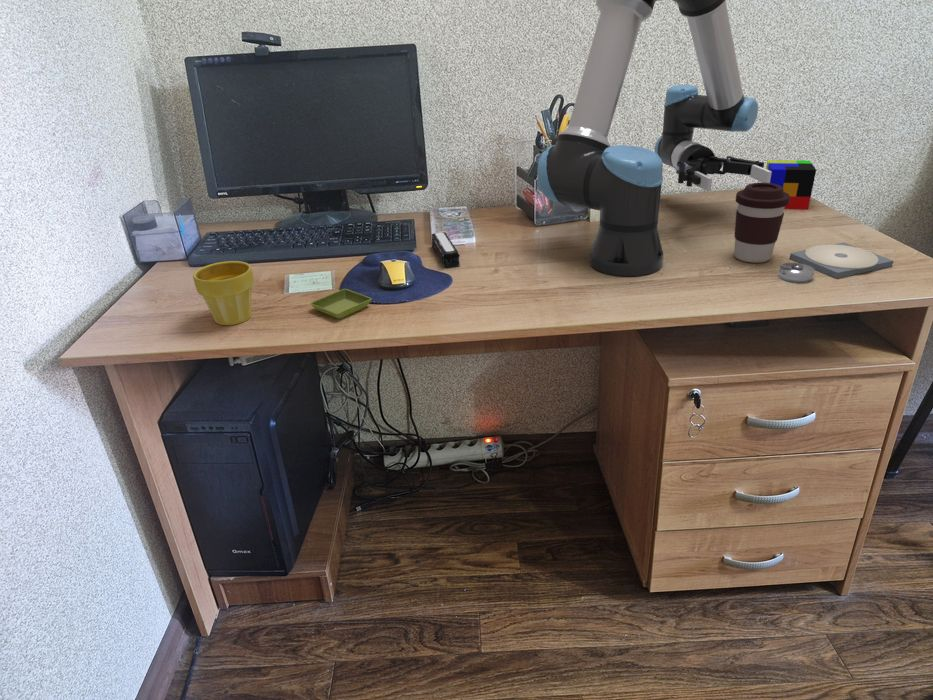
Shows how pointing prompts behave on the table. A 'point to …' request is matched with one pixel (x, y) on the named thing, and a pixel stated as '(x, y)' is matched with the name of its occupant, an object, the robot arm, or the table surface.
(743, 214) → the coffee cup
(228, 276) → the plant pot
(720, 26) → the robot arm
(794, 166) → the puzzle toy
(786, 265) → the grey rounded disc
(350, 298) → the green rectangular tray
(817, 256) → the disc case
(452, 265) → the white-topped black block
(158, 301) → the table surface
